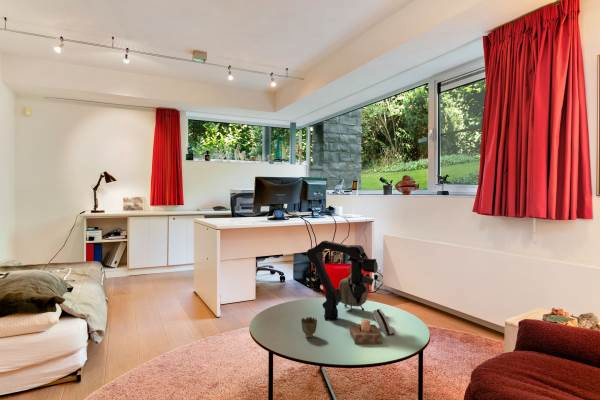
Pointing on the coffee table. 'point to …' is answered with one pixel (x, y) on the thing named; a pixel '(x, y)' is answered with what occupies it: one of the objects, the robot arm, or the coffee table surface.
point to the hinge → (382, 322)
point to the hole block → (365, 335)
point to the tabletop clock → (350, 294)
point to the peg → (365, 325)
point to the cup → (309, 326)
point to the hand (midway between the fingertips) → (356, 300)
